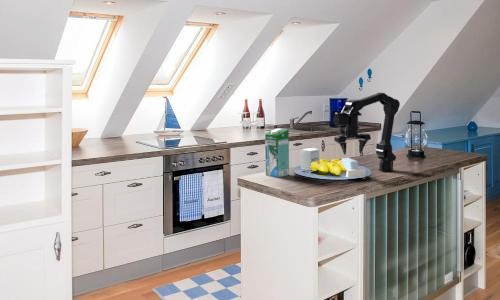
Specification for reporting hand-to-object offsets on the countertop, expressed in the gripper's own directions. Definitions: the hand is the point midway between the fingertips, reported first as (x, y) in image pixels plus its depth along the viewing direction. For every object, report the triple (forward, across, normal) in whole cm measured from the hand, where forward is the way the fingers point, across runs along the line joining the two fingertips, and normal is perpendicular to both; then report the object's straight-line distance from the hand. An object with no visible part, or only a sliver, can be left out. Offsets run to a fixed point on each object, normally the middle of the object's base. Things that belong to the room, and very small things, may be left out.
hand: (352, 153), depth 255 cm
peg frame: (+12, +3, +2) cm, 12 cm away
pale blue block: (+8, +3, +2) cm, 8 cm away
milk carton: (+11, +37, -16) cm, 42 cm away
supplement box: (+12, +17, -18) cm, 27 cm away
